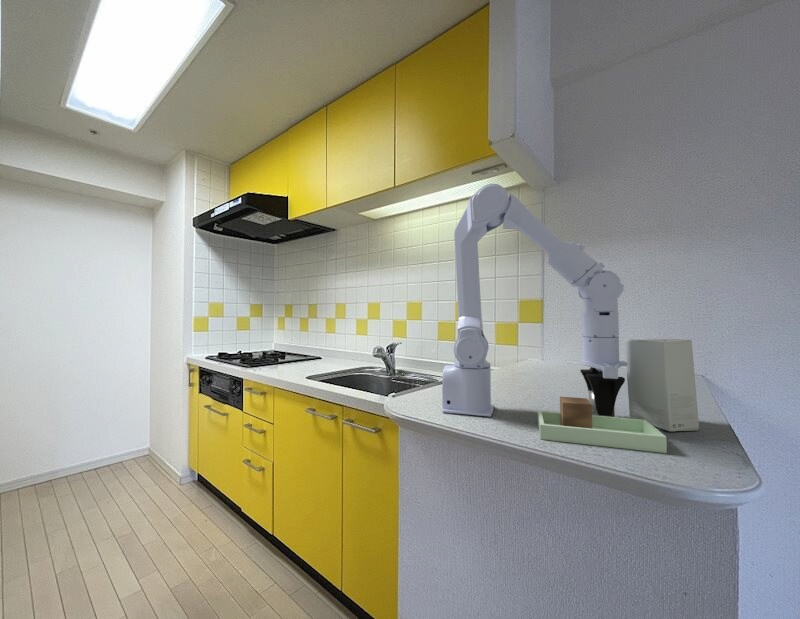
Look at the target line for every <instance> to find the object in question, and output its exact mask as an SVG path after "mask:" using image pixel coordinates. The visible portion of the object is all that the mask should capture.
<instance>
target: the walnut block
mask: <svg viewBox="0 0 800 619" xmlns="http://www.w3.org/2000/svg"><path fill="white" fill-rule="evenodd" d="M559 413H560V426H570V427H581V428H591V429H592V404H591V403H590V402H589V398H587V397H572V396H559Z"/></svg>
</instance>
